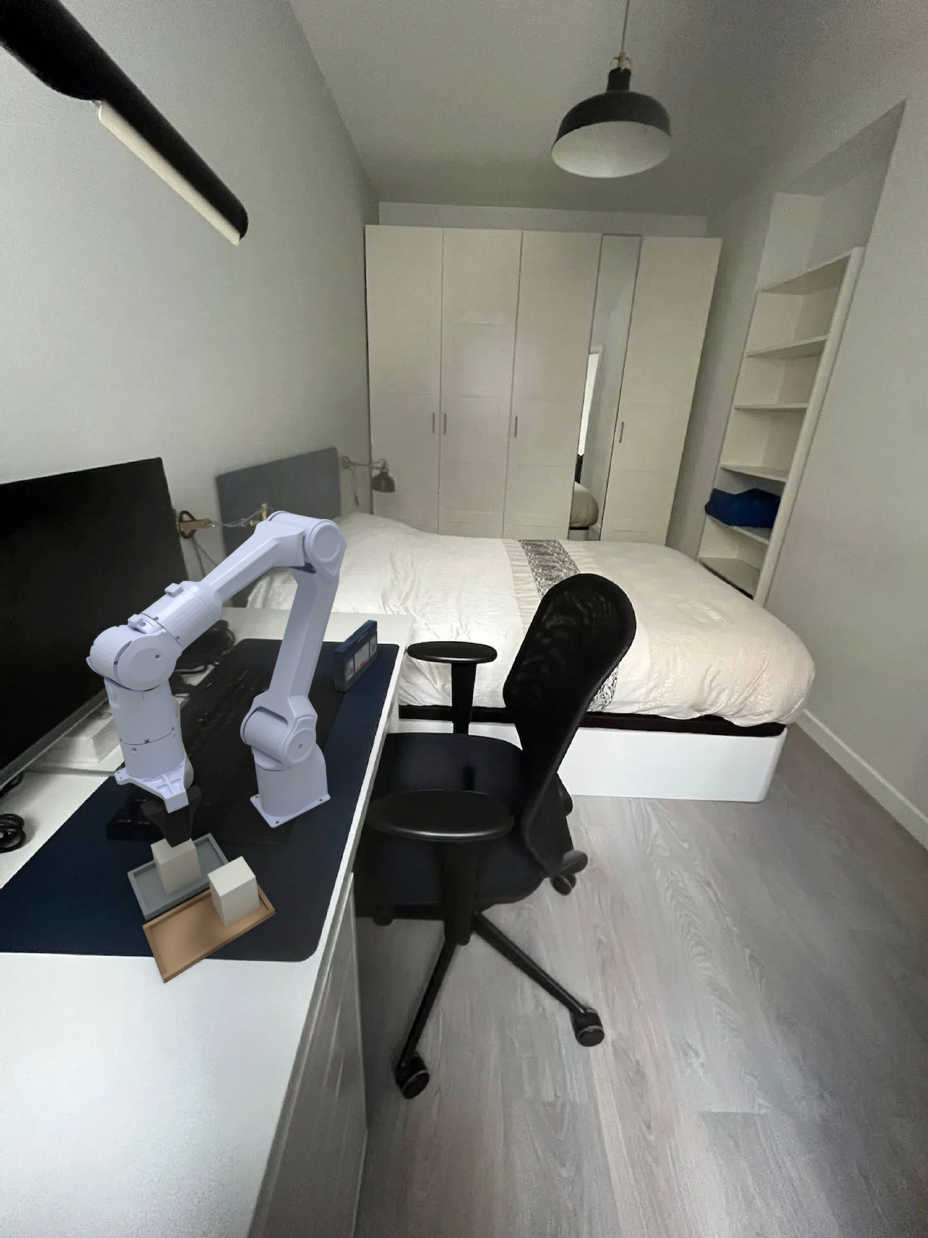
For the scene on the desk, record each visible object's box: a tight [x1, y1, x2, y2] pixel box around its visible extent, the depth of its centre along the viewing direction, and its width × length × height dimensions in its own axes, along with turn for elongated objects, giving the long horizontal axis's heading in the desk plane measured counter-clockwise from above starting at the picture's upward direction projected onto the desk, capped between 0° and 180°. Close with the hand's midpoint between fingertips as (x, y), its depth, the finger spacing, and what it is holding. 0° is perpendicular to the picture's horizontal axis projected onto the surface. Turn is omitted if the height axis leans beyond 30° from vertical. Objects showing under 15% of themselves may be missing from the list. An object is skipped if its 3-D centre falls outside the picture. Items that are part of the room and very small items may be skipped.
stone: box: [208, 856, 260, 928], centre depth 61 cm, size 4×4×5 cm
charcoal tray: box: [127, 832, 230, 922], centre depth 65 cm, size 10×8×1 cm
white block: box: [150, 838, 202, 895], centre depth 64 cm, size 4×4×5 cm
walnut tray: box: [142, 881, 276, 984], centre depth 60 cm, size 12×8×1 cm, turn 134°
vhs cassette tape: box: [332, 619, 379, 693], centre depth 116 cm, size 18×3×10 cm, turn 165°
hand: (170, 823), depth 62 cm, fingers open, 7 cm apart
